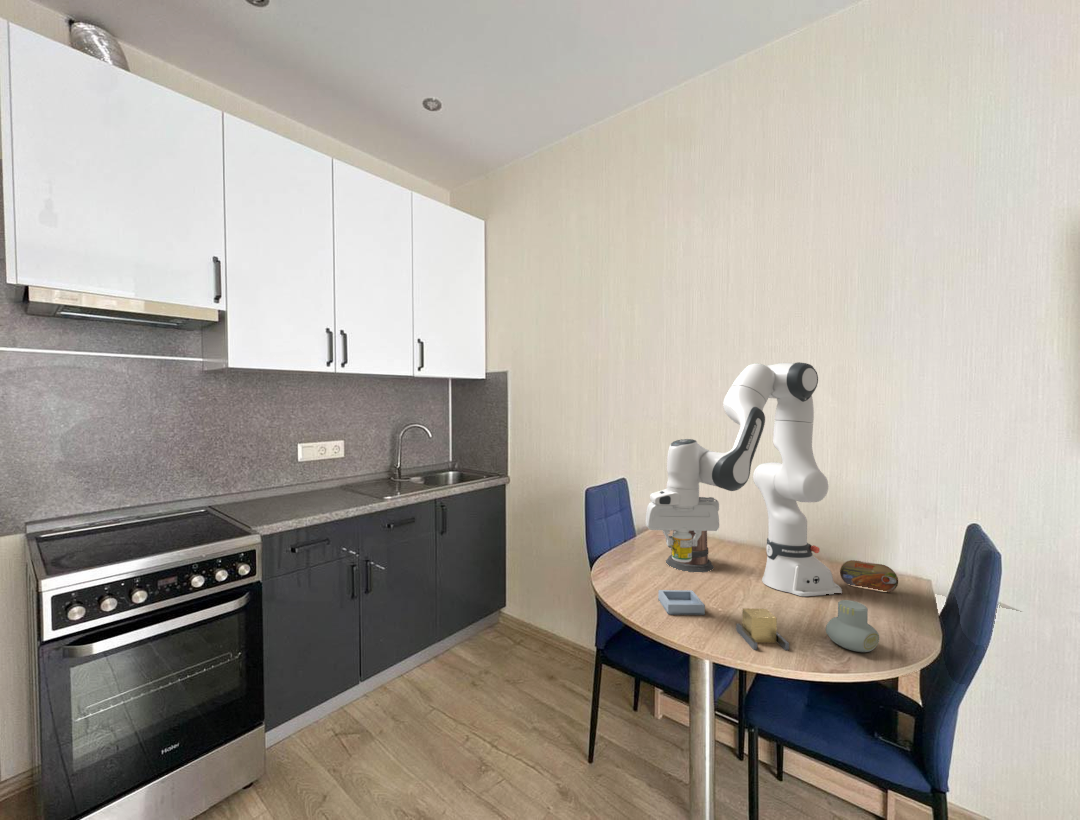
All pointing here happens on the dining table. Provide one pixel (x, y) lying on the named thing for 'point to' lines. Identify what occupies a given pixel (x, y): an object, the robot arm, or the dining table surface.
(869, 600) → the dining table surface
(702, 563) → the tankard
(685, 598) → the tray
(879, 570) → the tin
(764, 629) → the block
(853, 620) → the grey rounded piece
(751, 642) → the piston track
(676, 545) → the supplement bottle
